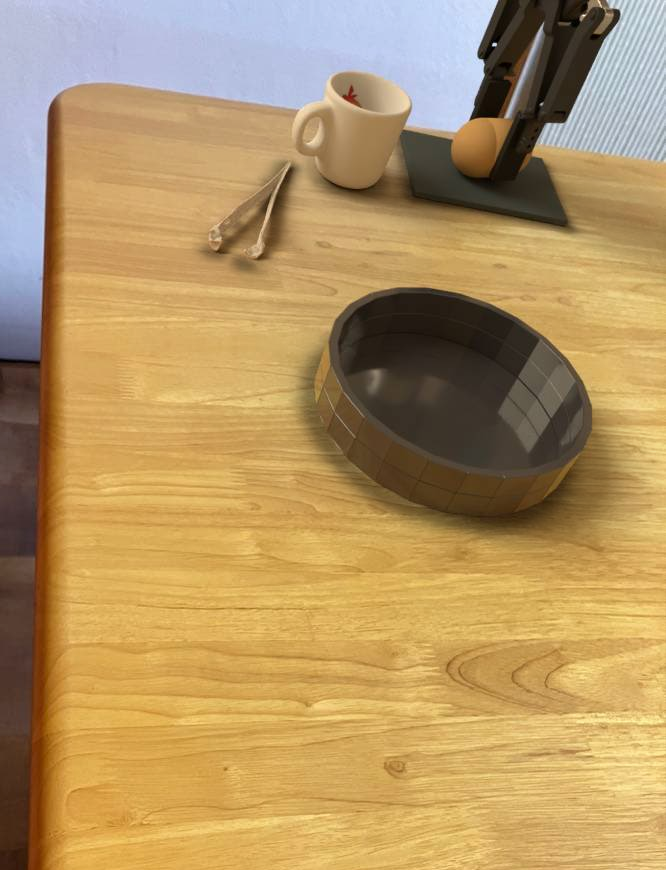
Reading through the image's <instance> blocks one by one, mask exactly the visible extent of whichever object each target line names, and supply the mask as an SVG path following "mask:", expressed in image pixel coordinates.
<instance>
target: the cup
mask: <svg viewBox="0 0 666 870" xmlns="http://www.w3.org/2000/svg"><path fill="white" fill-rule="evenodd" d="M412 108H413V103H412V99H411V97H410V95H409V94H408V93H407V92H406V91H405V90H404V89H403V88H402V87H401V86H399V85H398V84H396V83H395V82H393V81H391V80H389V79H387V78H384V77H382V76H380V75H377V74H374V73H369V72H365V71H361V70H360V71H359V70H342V71H338V72H336V73H334V74H333V73H332V75H331V76H329V78H328V79H327V81H326V84H325V90H324V95H323V100H318V101H313V102H310V103H307V104H305V105H304V106H303V107H301V108H300V110H299V111H298V112H297V114H295V115H296V116H295V117H294V120H293V124H292V128H291V142H292V146H293V147H294V150H295V151H297V153H299V155H301V156H305V157H314V161H315V166H316V168H317V170H318V172H319V173H320V174H321V175H322V177H324V178H325V179H326V180H328V181H329V182H331V183H333V184H335V185H337V186H339V187H342V188H346V189H347V188H348V189H351V190H352V189H353V190H361V189H363V190H364V189H366V188H369V187H372V186H373V185H375V184H376V183H377V182H378V181H379V180H380V179H381V177H382V175H383V174H384V171H385V170H386V167H387V165H388V163H389V161H390V159H391V157H392V154H393V152H394V150H395V148H396V146H397V144H398V141H399V140H400V135H401V133H402V130H403V129H404V128H405V126H406V124H407V121H408V119H409V117H410V115H411V113H412ZM316 117H317V118H319V126H318V128H317V132H316V135H315V136H314V138H313V139H312V140H311V141H309V142H306V143H304V140H303V139H304V131H305V129H306V127H307V125H308V123H309V122H310V121H311V120H313V119H314V118H316Z"/></svg>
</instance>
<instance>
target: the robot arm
mask: <svg viewBox="0 0 666 870" xmlns="http://www.w3.org/2000/svg"><path fill="white" fill-rule="evenodd" d="M621 13H622V12H621V10H620V9H619V8H612V7H610V5H609V2H608V1H607V0H497V2H496V5H495V7H494V10H493V12H492V15H491V16H490V20H489V21H488V24H487V26H486V29H485V31H484V34H483V37H482V39H481V41H480V44H479V46H478V49H477V53H476V56H477V59H479V60H482V62H483V64H484V65H483V74H484V75H483V78H482V80H481V83H480V85H479V88H478V90H477V94H476V95H475V98H474V102H473V110H472V112H471V115H470V117H469V120H468V121H471V120H473V119H476V118H499V116H500V114H501V112H502V109H503V107H504V104H505V102H506V99H507V98H508V96H509V92H510V91H511V88H512V86H513V82H512V81H511V80H510V79H506V78H514V77H516V76H517V74H516V72H515V70H514V68H515V67H516V66H517V64H518V63H519V61H520V59H521V58H522V56H524V53H525V52H526V50H527V49H528V47H529V46H530V44H531V42H532V41H533V39H534V38H535V37H536V35H537V33H538V32H539V31H540V29H541V28H542V32H543V33H544V39H543V43H542V47H541V51H540V54H539V57H538V61H537V65H536V69H535V72H534V76H533V80H532V82H531V83H532V84H531V88H530V91H529V94H528V99H527V102H526V106H525V110H523V109H518V111H517V112H516V114H515V116H514V118H513V119H514V121H513V123H512V125H511V127H510V130H509V132H508V134H507V136H506V139H505V141H504V143H503V145H502V148H501V150H500V152H499V154H498V157H497V159H496V162H495V164H494V166H493V168H492V170H491V172H490V174H489V177H490V179H491V180H492V181H515V179H516V176H517V174H518V172H519V170H520V168H521V166H522V164H523V162H524V159H525V157H526V155H527V154H530V153H531V152H532V151H533V152H534V149H535V147H536V144H537V142H538V141H539V139H540V136H541V134H542V132H543V131H544V128H545V126H546V124H565V123H566V122H567V121H568V119H569V118H570V117H569V116H570V114H571V113H572V110H573V108H574V106H575V104H576V102H577V99H578V97H579V95H580V93H581V91H582V90H583V87H584V85H585V83H586V81H587V78H588V76H589V74H590V71H591V70H592V67H593V66H594V63H595V61H596V59H597V57H598V54H599V52H600V50H601V48H602V46H603V44H604V42H605V40H606V38H608V36H609V35H610V34H611V32H612V31H613V30H614V28H616V26H617V25H618V23H619V22H620V20H621V15H622V14H621ZM560 23H561V24H560ZM562 23H563V24H562ZM564 23H565V24H564ZM567 23H568V24H567ZM493 44H496V45H493ZM505 77H506V78H505Z"/></svg>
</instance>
